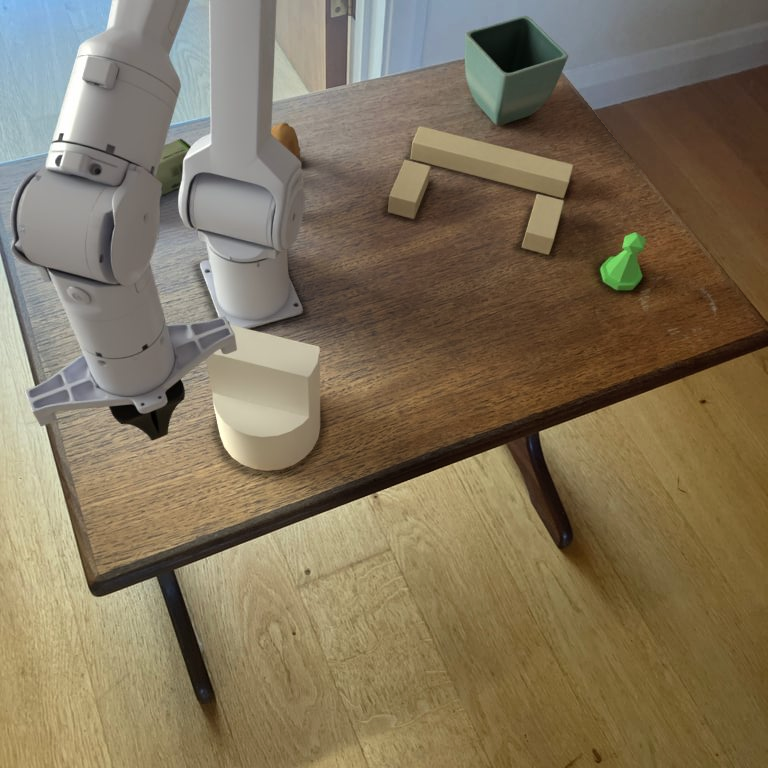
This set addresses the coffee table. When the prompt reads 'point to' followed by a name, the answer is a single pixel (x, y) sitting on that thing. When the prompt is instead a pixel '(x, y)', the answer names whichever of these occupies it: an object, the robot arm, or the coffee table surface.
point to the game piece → (624, 264)
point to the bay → (487, 165)
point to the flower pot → (512, 68)
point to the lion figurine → (287, 138)
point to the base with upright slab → (266, 399)
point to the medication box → (172, 165)
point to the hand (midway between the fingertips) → (155, 427)
